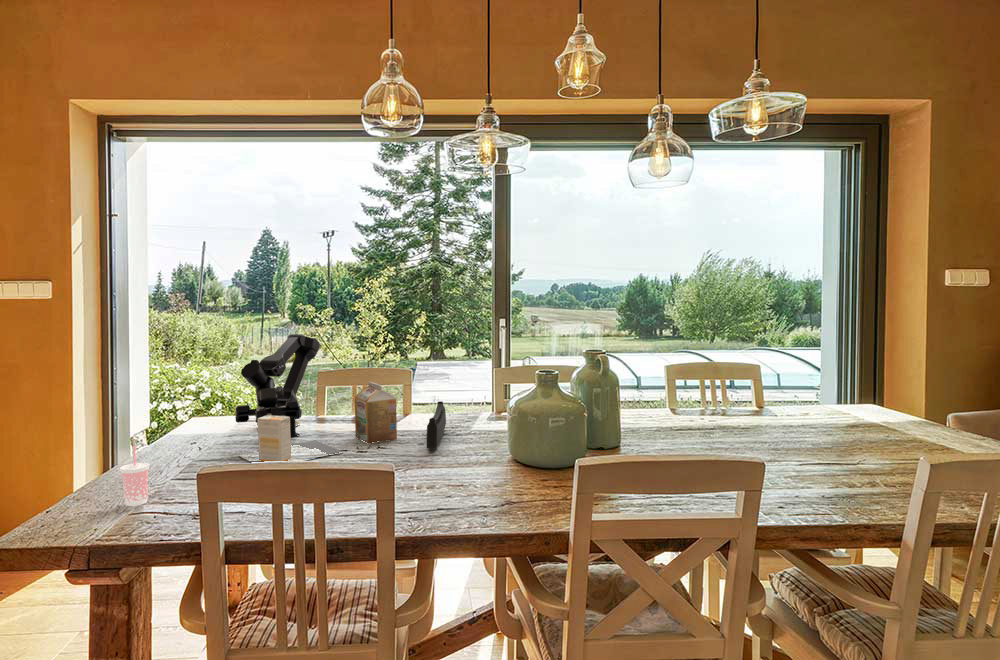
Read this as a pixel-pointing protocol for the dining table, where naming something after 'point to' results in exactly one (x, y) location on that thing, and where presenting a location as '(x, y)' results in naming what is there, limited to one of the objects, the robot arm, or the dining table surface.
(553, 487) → the dining table surface
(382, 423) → the milk carton
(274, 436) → the supplement box
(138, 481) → the beverage cup
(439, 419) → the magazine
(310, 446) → the rubber mat
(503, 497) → the dining table surface
